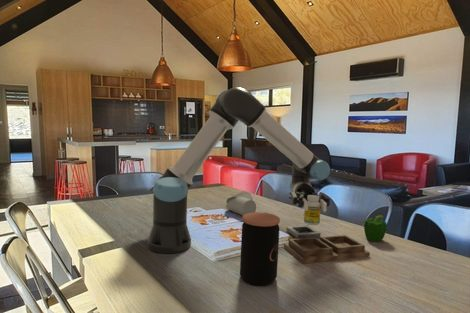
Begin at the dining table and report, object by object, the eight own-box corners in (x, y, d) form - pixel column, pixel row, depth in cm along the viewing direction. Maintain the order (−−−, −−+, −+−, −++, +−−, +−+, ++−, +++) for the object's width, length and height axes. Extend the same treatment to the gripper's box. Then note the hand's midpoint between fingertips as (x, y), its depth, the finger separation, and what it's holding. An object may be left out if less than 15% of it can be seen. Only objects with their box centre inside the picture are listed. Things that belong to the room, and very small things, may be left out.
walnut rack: (303, 263, 105) (303, 253, 105) (283, 247, 118) (284, 237, 118) (369, 256, 113) (370, 247, 113) (344, 242, 126) (345, 233, 126)
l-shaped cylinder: (215, 206, 167) (238, 216, 151) (219, 186, 167) (243, 194, 151) (241, 209, 178) (266, 219, 162) (245, 190, 178) (270, 198, 162)
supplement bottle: (315, 220, 116) (317, 194, 115) (322, 225, 111) (324, 197, 110) (301, 221, 115) (302, 194, 114) (307, 225, 109) (309, 198, 108)
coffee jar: (275, 289, 88) (278, 225, 86) (236, 284, 90) (239, 220, 88) (277, 272, 98) (281, 214, 96) (243, 267, 100) (245, 210, 98)
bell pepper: (363, 241, 128) (365, 216, 127) (362, 234, 136) (364, 211, 135) (386, 244, 125) (388, 219, 124) (384, 238, 133) (386, 214, 132)
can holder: (297, 239, 127) (298, 234, 127) (286, 231, 136) (286, 226, 136) (320, 238, 130) (320, 233, 130) (307, 229, 139) (307, 225, 139)
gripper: (326, 202, 130) (343, 219, 107) (280, 200, 131) (287, 216, 107) (327, 184, 129) (345, 197, 106) (281, 181, 130) (288, 194, 107)
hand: (316, 207), depth 107 cm, fingers closed on supplement bottle, 5 cm apart
